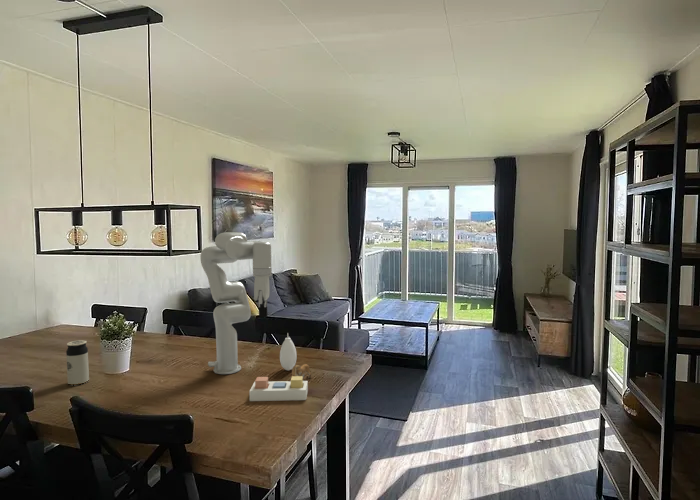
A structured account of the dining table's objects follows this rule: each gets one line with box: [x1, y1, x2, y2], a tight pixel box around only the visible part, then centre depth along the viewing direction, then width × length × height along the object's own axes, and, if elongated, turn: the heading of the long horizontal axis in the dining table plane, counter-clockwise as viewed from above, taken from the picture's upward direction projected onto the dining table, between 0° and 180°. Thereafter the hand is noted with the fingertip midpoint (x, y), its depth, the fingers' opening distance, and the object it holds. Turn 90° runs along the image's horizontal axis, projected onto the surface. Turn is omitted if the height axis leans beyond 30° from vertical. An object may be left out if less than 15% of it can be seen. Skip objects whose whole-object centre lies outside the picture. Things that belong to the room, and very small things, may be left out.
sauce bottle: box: [279, 332, 298, 372], centre depth 205 cm, size 8×8×18 cm
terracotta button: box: [254, 376, 269, 389], centre depth 174 cm, size 4×4×4 cm
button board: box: [248, 380, 309, 402], centre depth 174 cm, size 22×10×4 cm, turn 92°
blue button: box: [273, 382, 286, 388], centre depth 174 cm, size 4×4×4 cm
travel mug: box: [65, 339, 90, 385], centre depth 190 cm, size 8×8×18 cm
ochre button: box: [290, 375, 304, 388], centre depth 174 cm, size 4×4×4 cm
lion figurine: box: [291, 363, 312, 379], centre depth 190 cm, size 15×5×9 cm, turn 164°
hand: (263, 316), depth 178 cm, fingers closed
